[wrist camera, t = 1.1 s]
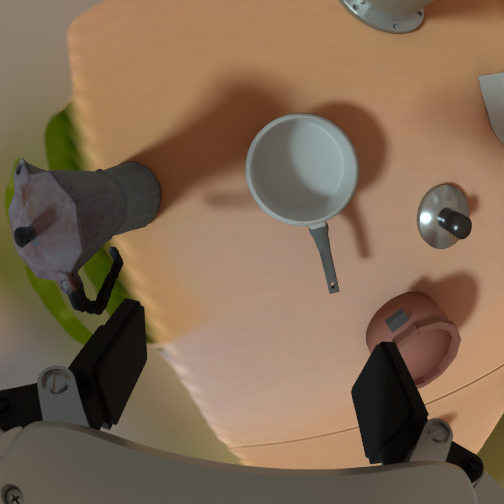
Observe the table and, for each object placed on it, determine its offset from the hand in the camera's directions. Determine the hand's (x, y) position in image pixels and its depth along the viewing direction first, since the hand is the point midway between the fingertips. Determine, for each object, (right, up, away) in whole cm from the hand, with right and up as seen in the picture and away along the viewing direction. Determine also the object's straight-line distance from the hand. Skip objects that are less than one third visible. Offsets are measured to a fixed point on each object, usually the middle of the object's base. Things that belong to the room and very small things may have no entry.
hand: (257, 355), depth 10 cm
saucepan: (+7, +10, +23) cm, 26 cm away
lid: (+26, +9, +22) cm, 36 cm away
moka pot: (-15, +11, +24) cm, 31 cm away
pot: (+24, -8, +29) cm, 38 cm away
